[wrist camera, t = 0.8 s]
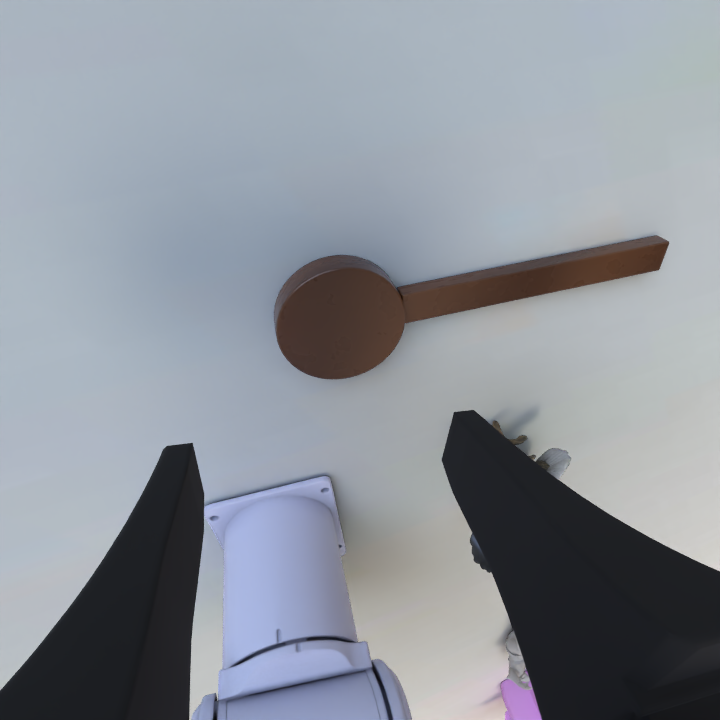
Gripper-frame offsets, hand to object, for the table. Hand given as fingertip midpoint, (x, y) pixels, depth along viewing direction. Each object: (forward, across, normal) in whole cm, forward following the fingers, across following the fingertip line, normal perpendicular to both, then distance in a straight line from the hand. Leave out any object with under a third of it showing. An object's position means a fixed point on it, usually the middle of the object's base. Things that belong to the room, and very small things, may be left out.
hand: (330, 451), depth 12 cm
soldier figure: (+10, -26, +49) cm, 56 cm away
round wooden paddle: (+10, -9, 0) cm, 13 cm away
